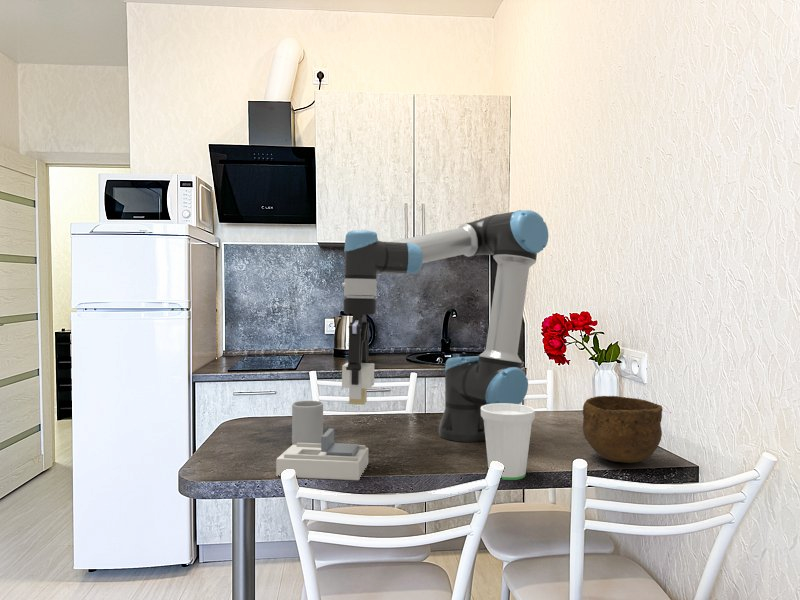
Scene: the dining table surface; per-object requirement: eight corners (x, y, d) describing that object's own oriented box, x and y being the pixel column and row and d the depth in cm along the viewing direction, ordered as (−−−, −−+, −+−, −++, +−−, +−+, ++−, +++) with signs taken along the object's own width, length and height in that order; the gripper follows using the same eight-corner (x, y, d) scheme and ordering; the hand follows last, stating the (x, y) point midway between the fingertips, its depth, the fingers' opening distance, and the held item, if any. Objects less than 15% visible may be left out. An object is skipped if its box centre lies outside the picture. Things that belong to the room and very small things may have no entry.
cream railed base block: (368, 464, 141) (368, 444, 141) (358, 480, 129) (358, 458, 129) (292, 460, 144) (292, 441, 143) (276, 476, 132) (276, 455, 131)
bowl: (673, 476, 134) (674, 411, 133) (588, 471, 137) (589, 408, 136) (651, 453, 152) (652, 396, 152) (577, 449, 155) (578, 393, 155)
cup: (516, 487, 125) (517, 416, 125) (469, 474, 134) (469, 408, 133) (544, 473, 135) (545, 408, 134) (498, 462, 143) (498, 400, 143)
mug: (320, 447, 155) (320, 406, 155) (288, 447, 156) (288, 406, 155) (327, 436, 167) (327, 398, 167) (298, 435, 168) (298, 397, 167)
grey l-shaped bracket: (358, 449, 139) (358, 429, 139) (352, 458, 132) (352, 437, 132) (329, 447, 140) (329, 428, 140) (321, 457, 132) (321, 436, 132)
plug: (373, 401, 139) (374, 350, 139) (369, 406, 132) (370, 352, 132) (346, 399, 139) (347, 349, 139) (341, 405, 133) (342, 351, 133)
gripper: (351, 296, 146) (349, 388, 146) (335, 297, 126) (333, 403, 127) (381, 297, 145) (379, 389, 145) (369, 298, 125) (367, 404, 126)
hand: (358, 395), depth 136 cm, fingers closed on plug, 6 cm apart
